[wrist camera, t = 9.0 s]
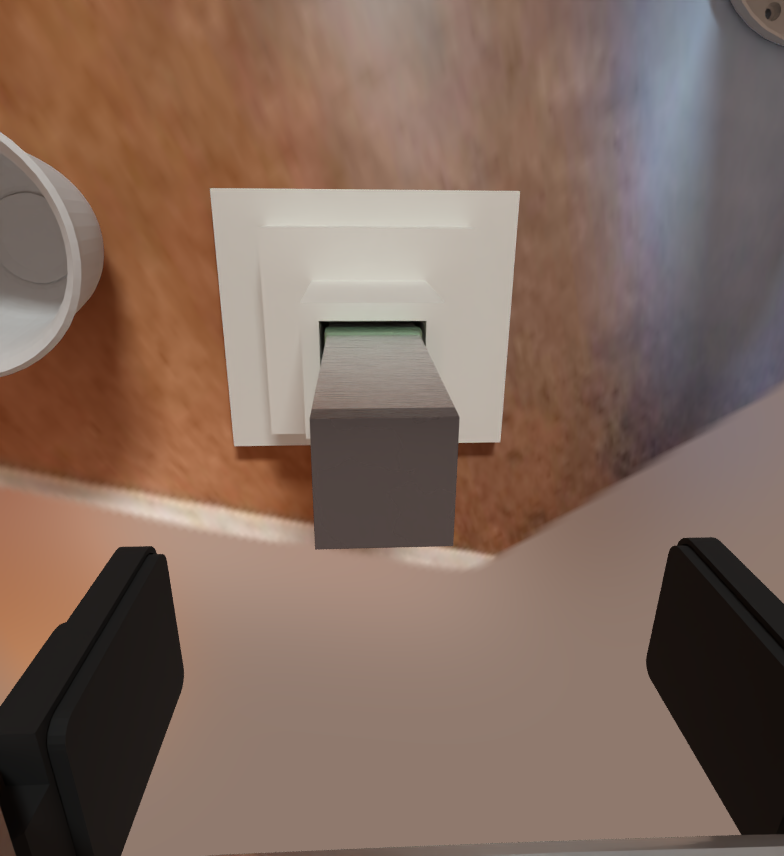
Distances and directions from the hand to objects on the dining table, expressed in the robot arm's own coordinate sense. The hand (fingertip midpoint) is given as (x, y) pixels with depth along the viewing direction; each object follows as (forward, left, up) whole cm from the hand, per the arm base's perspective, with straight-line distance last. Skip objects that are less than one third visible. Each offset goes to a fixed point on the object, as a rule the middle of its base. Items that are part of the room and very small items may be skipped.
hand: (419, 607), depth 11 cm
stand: (0, 0, -29) cm, 29 cm away
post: (0, 0, -23) cm, 23 cm away
